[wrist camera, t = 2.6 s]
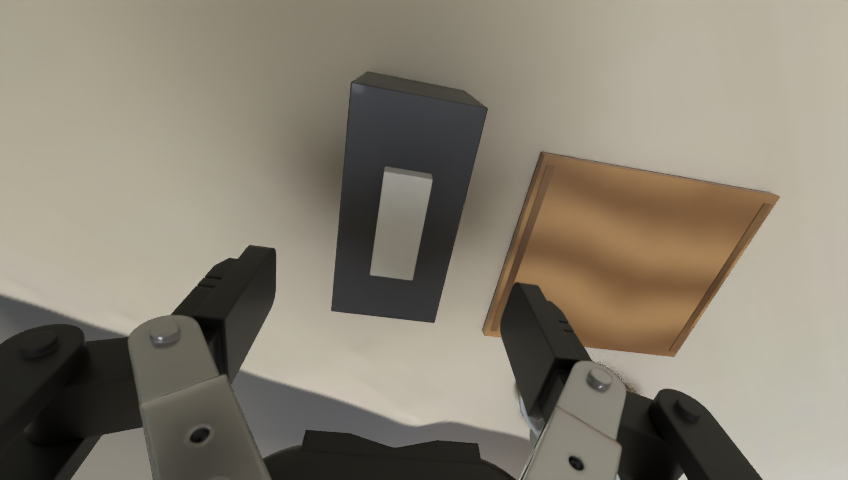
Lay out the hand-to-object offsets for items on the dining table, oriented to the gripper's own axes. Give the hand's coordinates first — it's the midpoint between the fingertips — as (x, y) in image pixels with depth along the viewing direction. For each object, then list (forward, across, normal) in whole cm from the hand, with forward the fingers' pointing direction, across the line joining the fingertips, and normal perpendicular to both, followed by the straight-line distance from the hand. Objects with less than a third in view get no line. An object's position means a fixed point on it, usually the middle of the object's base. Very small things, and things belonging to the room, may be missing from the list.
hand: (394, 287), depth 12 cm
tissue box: (+11, 0, 0) cm, 11 cm away
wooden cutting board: (+12, -16, +4) cm, 20 cm away
